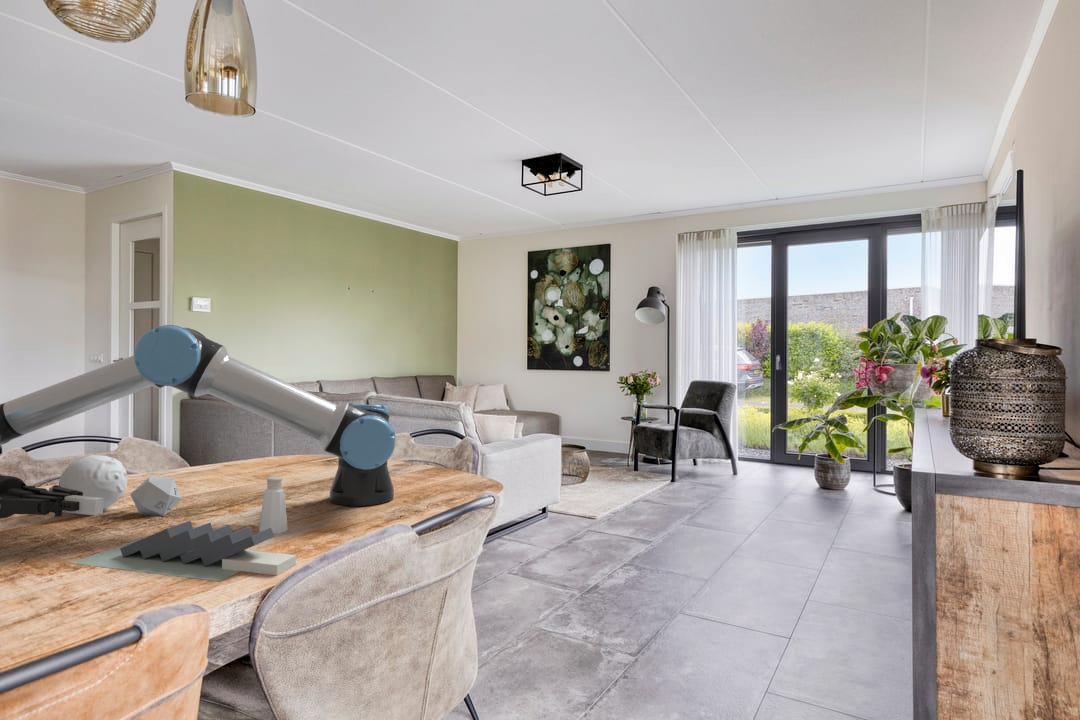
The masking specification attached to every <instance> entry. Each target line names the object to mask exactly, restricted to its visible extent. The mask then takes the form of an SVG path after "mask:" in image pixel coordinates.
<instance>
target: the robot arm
mask: <svg viewBox="0 0 1080 720" xmlns="http://www.w3.org/2000/svg"><path fill="white" fill-rule="evenodd" d="M151 387H152V388H155V389H161V388H164V387H172V388H174V389H176V390H178V391H182V392H184V393H187V394H189V395H191V396H194V397H196V398H198V397H201V396H204V395H210V396H213V397H215V398H218V399H220V400H223V401H225V402H227V403H230V404H231V405H234V406H237V407H238V408H241V409H244V410H246V411H249V412H250V413H253V414H256V415H258V416H259V417H263V418H265V419H267V420H269V421H272V422H274V423H277V424H279V425H281V426H283V427H285V428H288V429H290V430H293V431H295V432H297V433H300V434H301V435H305V436H307V437H309V438H312V439H313V440H315V441H316V440H317V442H319V443H320V446H321V450H322V451H324V452H326V453H329V454H331V455H333V456H335V457H338V461H337V470H336V473H335V475H334V478H333V481H332V484H331V486H330V490H329V501H330V502H331V503H333V504H337V505H341V506H354V507H355V506H357V507H358V506H373V505H379V504H384V503H385V504H386V503H387V502H390V501H392V500H393V499H394V496H395V495H394V494H395V489H394V486H393V485H394V484H393V480H392V478H391V475H390V471H389V468H388V467H389V466H388V460H389V459H390V458H391V457H392V455H393V453H394V451H395V448H396V442H397V441H396V440H397V439H396V438H397V437H396V433H395V429H394V427H393V426H392V424H391V423H390V422H389V421H390V416H391V415H390V413H389V411H390V409H389V407H388V406H387V405H384V404H353V403H350V402H343V403H340V404H336V403H334V402H331V401H329V400H327V399H325V398H323V397H320V396H318V395H315V394H313V393H311V392H309V391H307V390H304V389H302V388H300V387H298V386H296V385H293V384H291V383H289V382H287V381H284V380H282V379H281V378H278V377H276V376H273V375H271V374H269V373H267V372H264V371H262V370H260V369H258V368H256V367H253V366H252V365H249V364H247V363H244V362H242V361H240V360H238V359H235V358H233V357H231V356H230V355H229V353H228V350H227V348H226V346H224V345H223V344H220V343H218V342H216V341H214V340H211V339H209V338H208V337H206V336H205V335H204V334H202V333H201V332H199V331H197V330H195V329H192V328H190V327H189V328H188V327H182V326H179V325H175V324H172V325H171V324H164V325H160V326H157V327H155V328H151V329H150V330H148V331H146V332H145V333H144V334H143V335H141V337H140V338H139V340H138V341H137V342H136V345H135V347H134V352H133V355H131V356H129V357H125V358H123V359H120V360H118V361H115V362H112V363H109V364H107V365H104V366H101V367H98V368H96V369H94V370H90V371H88V372H85V373H82V374H79V375H77V376H74V377H71V378H68V379H66V380H63V381H60V382H57V383H55V384H52V385H49V386H47V387H45V388H42V389H39V390H37V391H33V392H31V393H28V394H25V395H21V396H20V397H17V398H14V399H11V400H9V401H6V402H3V403H0V446H2V445H4V444H8V443H9V442H11V441H13V440H14V439H17V438H20V437H23V436H24V435H27V434H29V433H33V432H34V431H38V430H40V429H43V428H45V427H48V426H51V425H53V424H56V423H59V422H61V421H65V420H66V419H70V418H72V417H74V416H77V415H80V414H83V413H85V412H87V411H90V410H93V409H96V408H98V407H101V406H104V405H106V404H108V403H111V402H114V401H116V400H119V399H121V398H124V397H127V396H130V395H132V394H135V393H137V392H140V391H143V390H146V389H147V388H151ZM63 512H64V513H69V514H78V515H87V516H88V515H89V516H97V515H102V514H104V509H103V498H99V497H89V496H83V492H81V491H77V490H72V489H67V488H62V487H61V486H59V484H55V485H52V486H51V487H49V488H48V489H47V488H43V487H36V486H35V485H27V484H26V482H24V480H22V479H21V478H19V477H17V476H11V475H2V474H0V520H1V519H7V518H9V517H13V516H14V515H26V516H27V515H29V516H30V515H32V516H33V515H34V516H35V515H36V516H47V515H49V514H50V513H53V514H54V518H59V517H63Z"/></svg>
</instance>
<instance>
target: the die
mask: <svg viewBox="0 0 1080 720" xmlns="http://www.w3.org/2000/svg"><path fill="white" fill-rule="evenodd" d="M130 496H131V499H132V501H133V504H134V505H135V507H136V509H137V512H138V514H139V515H142V516H152V517H165V516H166V515H167V514H168V513H169V512H170V511H171V510H172V509H174V507H175V506H176V505H177V504H178V503H179V502H180V501H181V500H182V499H183V496H182V494H181V492H180V490H179V488H178V485H177V483H176V481H175V478H174V476H172V477H170V476H169V477H168V476H165V477H164V476H149V477H147V478H146V480H144V481H143V482H142V483H141V484H139V486H137V488H136V489H134V490H133V491H132V492H131V493H130Z"/></svg>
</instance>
